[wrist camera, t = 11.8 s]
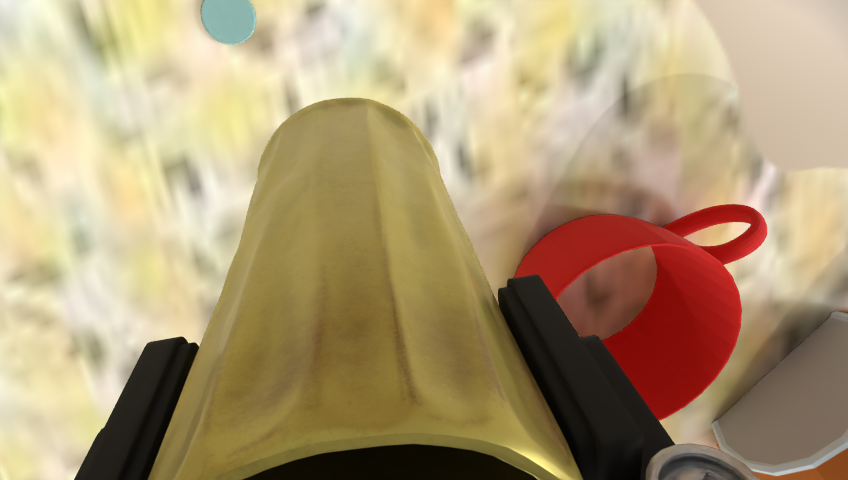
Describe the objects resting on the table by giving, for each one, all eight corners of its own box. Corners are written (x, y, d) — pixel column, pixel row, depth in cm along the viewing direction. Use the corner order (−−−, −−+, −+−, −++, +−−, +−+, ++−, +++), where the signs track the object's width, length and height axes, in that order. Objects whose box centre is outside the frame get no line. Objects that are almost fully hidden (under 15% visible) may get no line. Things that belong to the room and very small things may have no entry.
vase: (225, 133, 17) (-101, 531, 5) (407, 68, 17) (601, 283, 4) (302, 289, 20) (234, 824, 7) (460, 233, 20) (680, 668, 7)
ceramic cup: (724, 239, 42) (832, 306, 33) (545, 370, 44) (600, 466, 35) (646, 107, 36) (749, 143, 27) (448, 264, 39) (483, 344, 30)
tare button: (199, -10, 28) (193, -9, 26) (251, -17, 28) (247, -16, 27) (214, 44, 29) (209, 48, 28) (264, 37, 29) (261, 41, 28)
